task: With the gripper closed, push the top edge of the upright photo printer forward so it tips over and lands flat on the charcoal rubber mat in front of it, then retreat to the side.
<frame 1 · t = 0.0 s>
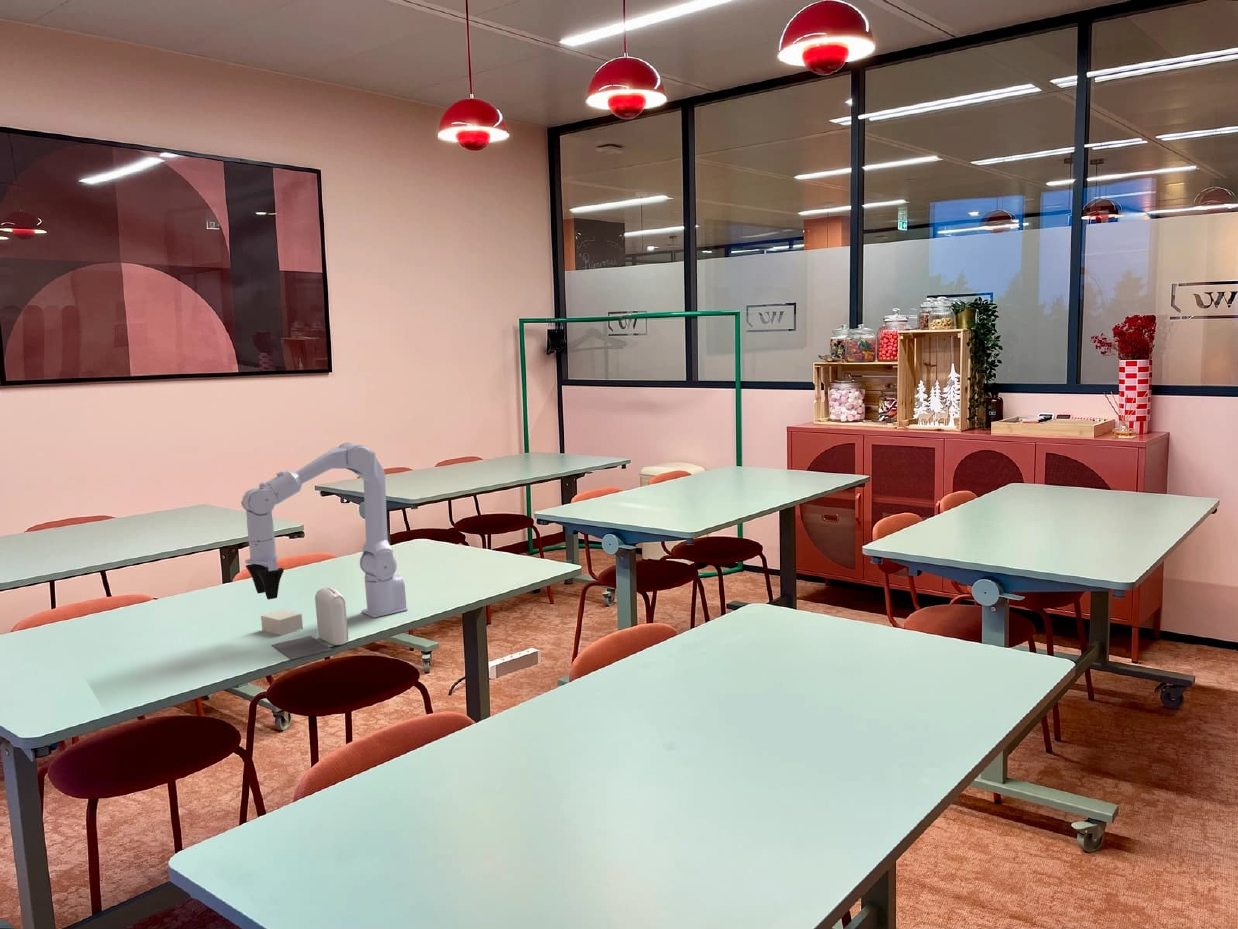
hand: (267, 595, 217), 10 cm above the table, fingers open, 7 cm apart
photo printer: (333, 641, 214), on the table
mat: (301, 647, 209), on the table
card box: (282, 630, 224), on the table
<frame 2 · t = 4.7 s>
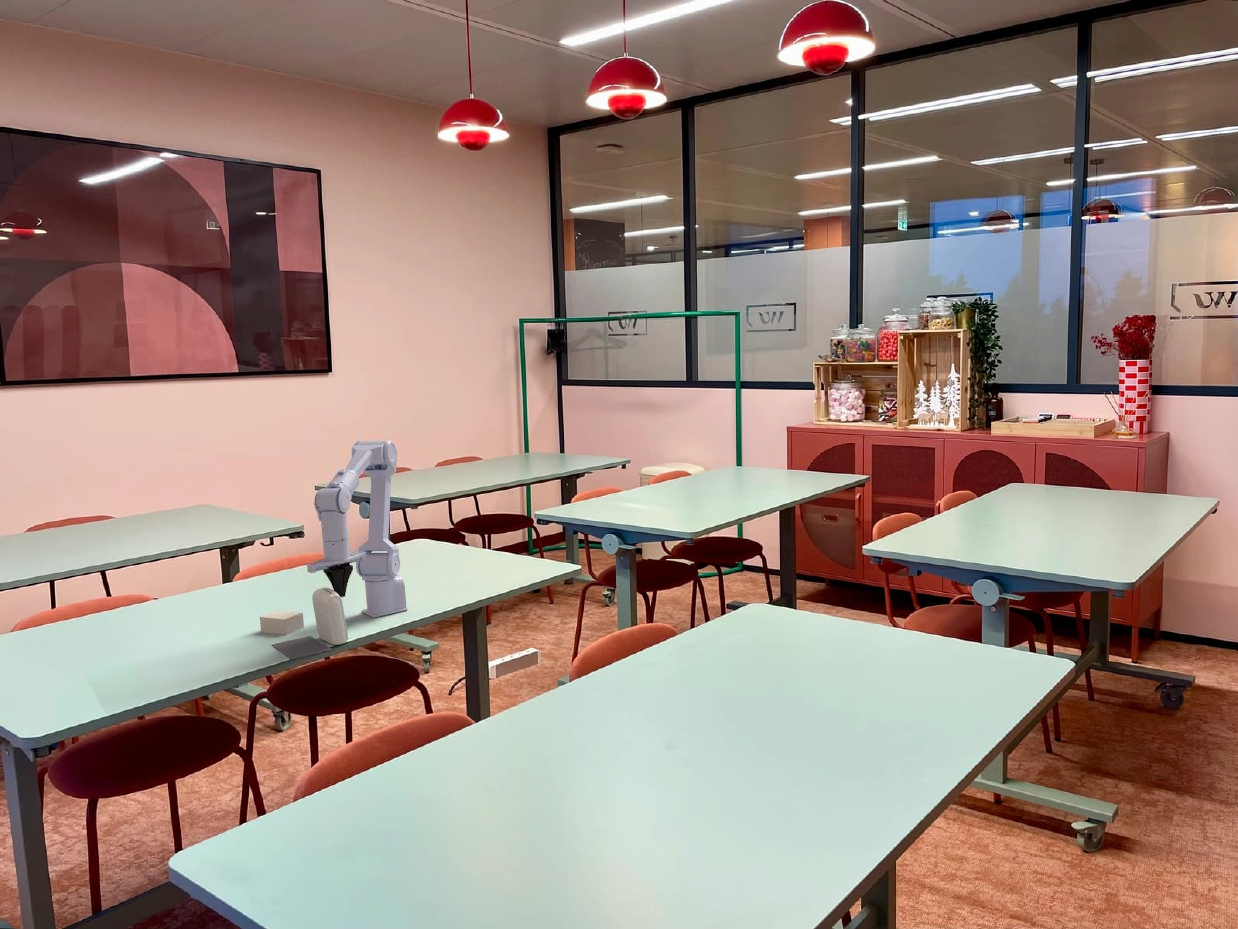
hand: (340, 596, 214), 10 cm above the table, fingers closed
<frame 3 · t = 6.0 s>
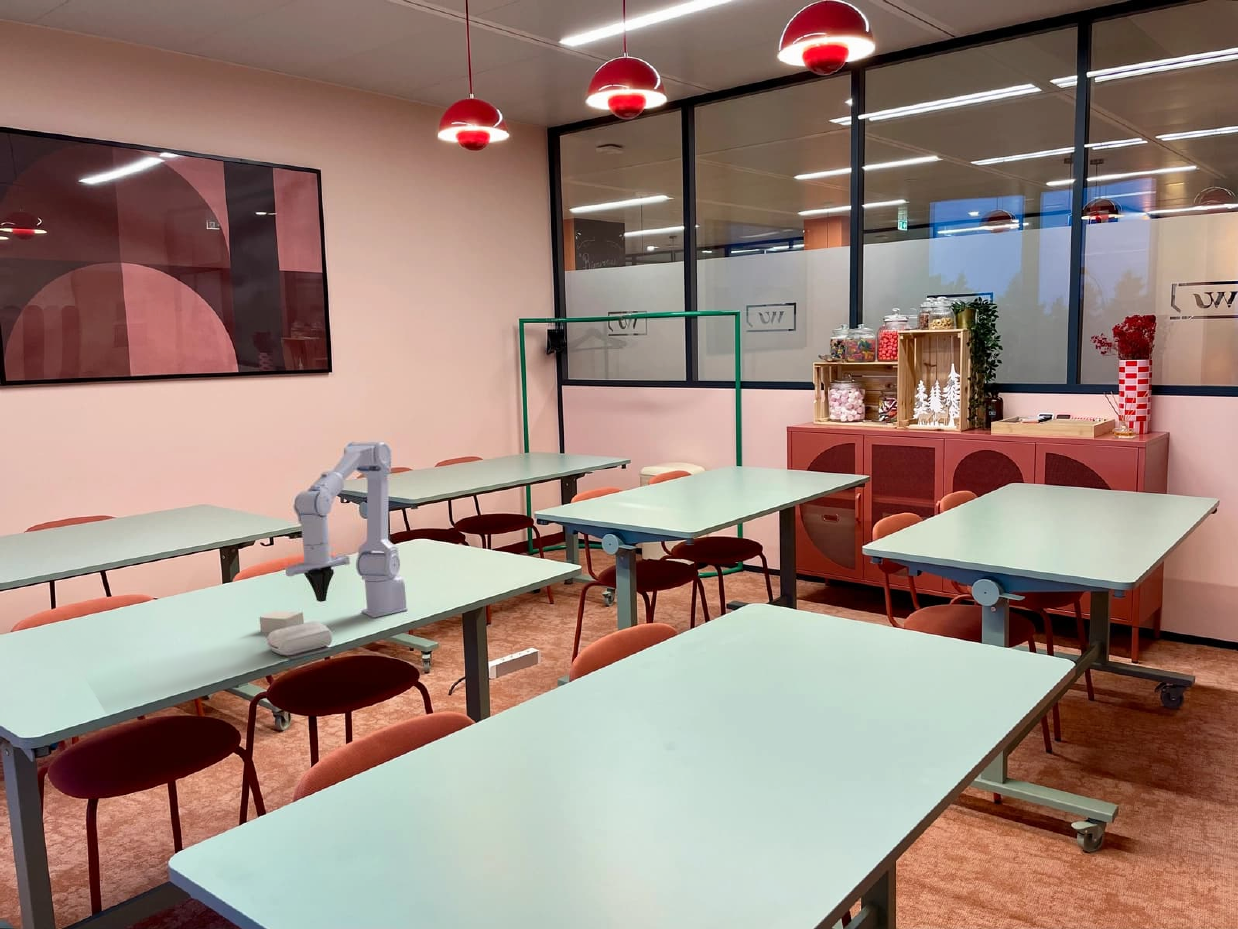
hand: (321, 600, 211), 10 cm above the table, fingers closed
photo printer: (324, 632, 212), point 2 cm above the table, touching mat
everything else where it was.
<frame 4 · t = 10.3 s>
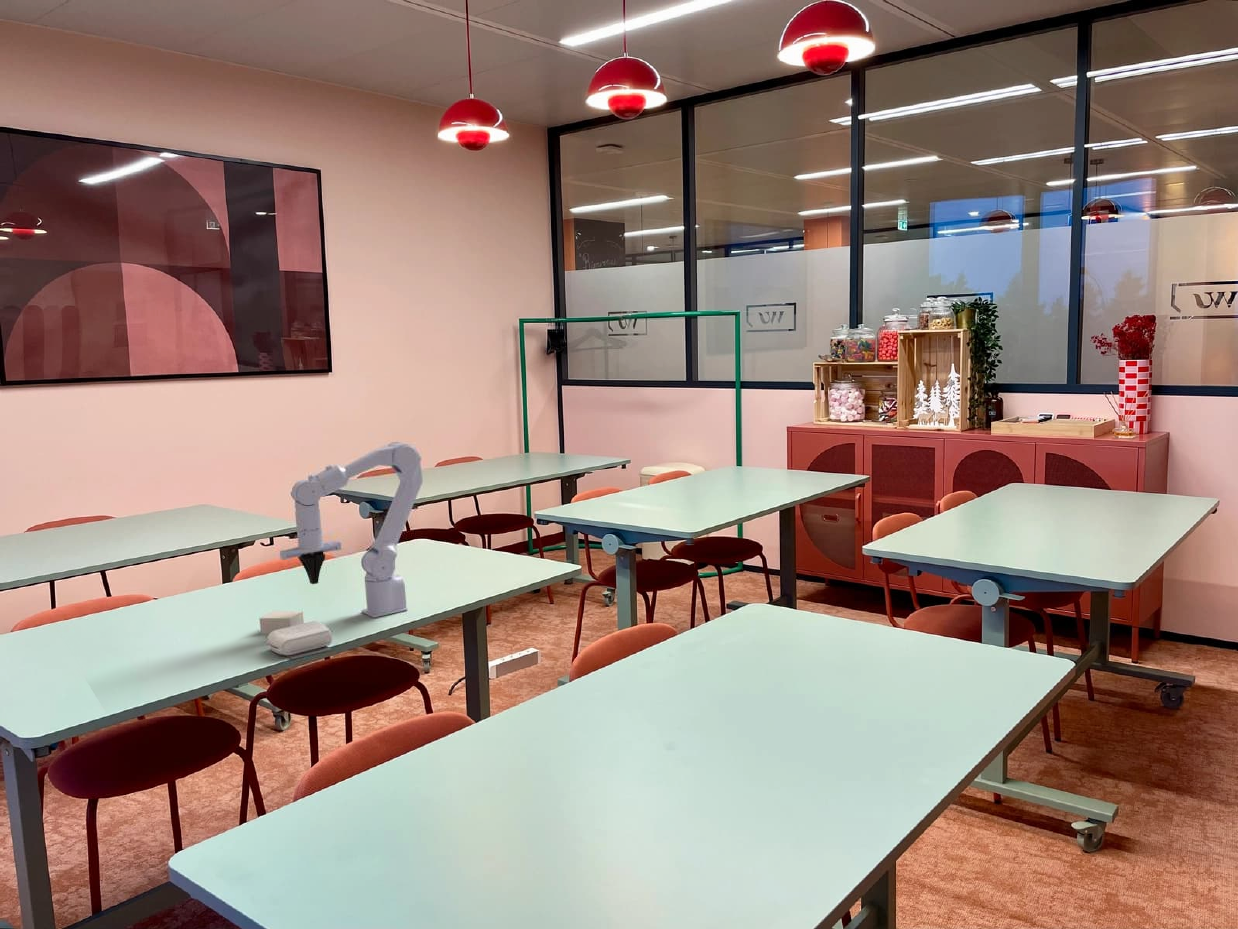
hand: (314, 583, 226), 10 cm above the table, fingers closed
at the end: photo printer tilted 91°; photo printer inside the target area on the mat (5.4 cm from its centre), point 2.4 cm above the mat's base; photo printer moved 3.1 cm from its start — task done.
